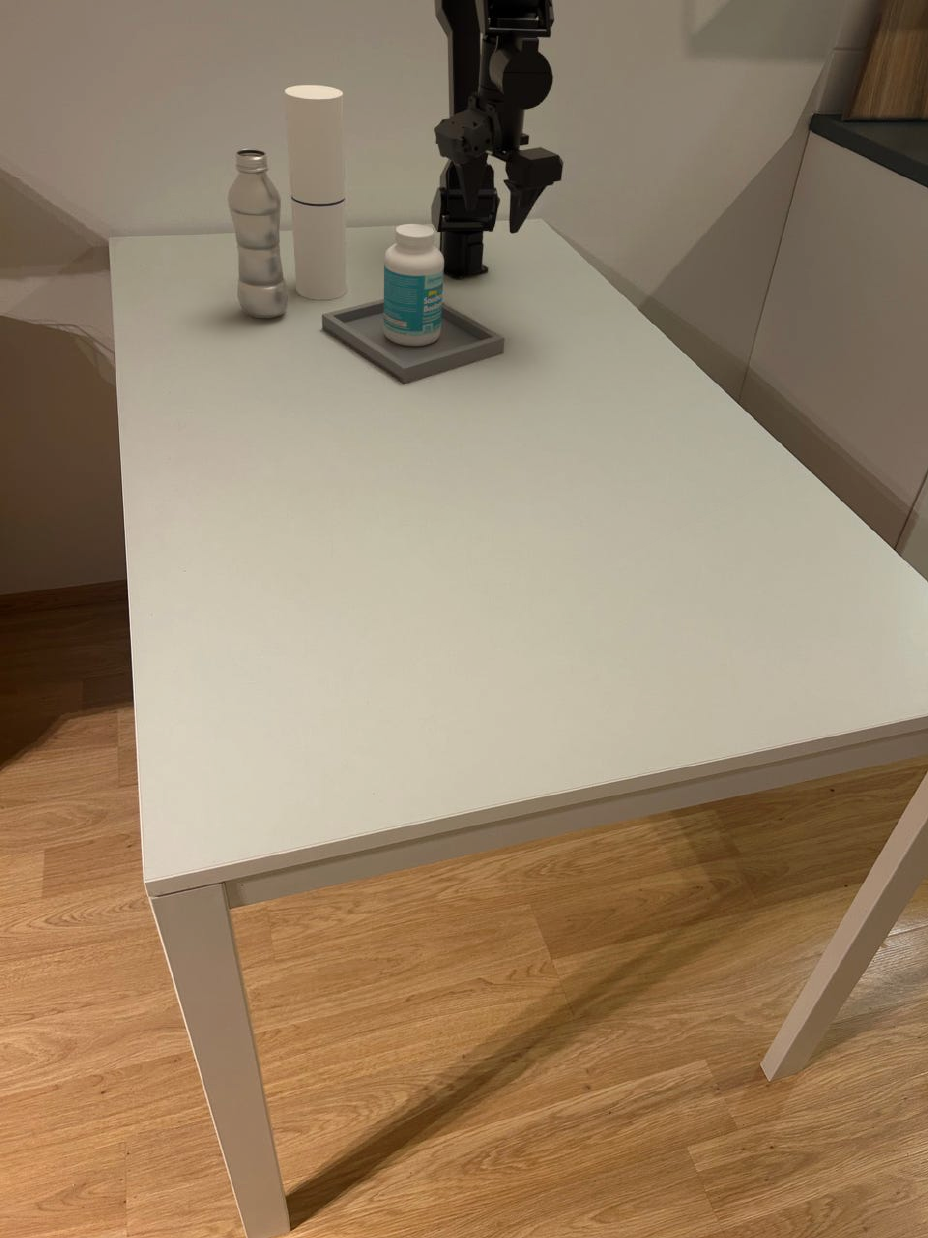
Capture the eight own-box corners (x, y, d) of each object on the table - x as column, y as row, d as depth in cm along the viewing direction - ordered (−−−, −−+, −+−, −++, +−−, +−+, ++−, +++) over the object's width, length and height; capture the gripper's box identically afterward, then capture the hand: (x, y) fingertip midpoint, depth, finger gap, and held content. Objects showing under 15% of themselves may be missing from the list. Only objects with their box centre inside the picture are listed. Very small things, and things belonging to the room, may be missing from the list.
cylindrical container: (306, 302, 129) (296, 100, 112) (289, 283, 133) (277, 86, 117) (354, 295, 131) (351, 97, 115) (336, 277, 136) (330, 83, 119)
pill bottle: (432, 352, 118) (437, 244, 109) (376, 343, 119) (376, 235, 110) (446, 328, 124) (451, 224, 115) (392, 320, 124) (393, 215, 116)
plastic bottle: (267, 328, 122) (254, 164, 108) (228, 314, 124) (211, 152, 111) (299, 313, 126) (290, 153, 113) (261, 299, 128) (248, 141, 115)
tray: (322, 329, 123) (321, 314, 121) (419, 303, 131) (419, 289, 129) (404, 383, 113) (404, 368, 111) (503, 352, 121) (504, 337, 119)
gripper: (402, 72, 112) (399, 207, 122) (498, 113, 101) (486, 257, 112) (475, 64, 117) (467, 194, 127) (574, 103, 106) (556, 241, 117)
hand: (491, 220), depth 121 cm, fingers open, 9 cm apart
